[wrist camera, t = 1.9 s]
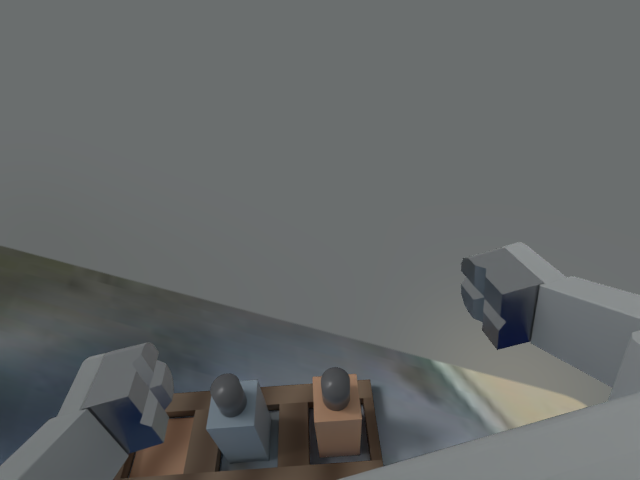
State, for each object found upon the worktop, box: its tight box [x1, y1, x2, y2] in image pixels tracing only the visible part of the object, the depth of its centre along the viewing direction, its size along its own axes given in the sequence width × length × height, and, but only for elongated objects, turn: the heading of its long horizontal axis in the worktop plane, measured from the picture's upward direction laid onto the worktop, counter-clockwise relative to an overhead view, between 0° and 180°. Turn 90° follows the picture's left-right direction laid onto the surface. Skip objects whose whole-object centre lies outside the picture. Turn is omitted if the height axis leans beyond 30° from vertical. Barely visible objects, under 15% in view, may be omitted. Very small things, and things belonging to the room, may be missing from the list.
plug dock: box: [113, 380, 383, 480], centre depth 38 cm, size 26×10×2 cm, turn 93°
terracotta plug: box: [313, 367, 362, 458], centre depth 35 cm, size 4×4×12 cm
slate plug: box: [206, 374, 271, 464], centre depth 34 cm, size 4×4×12 cm
